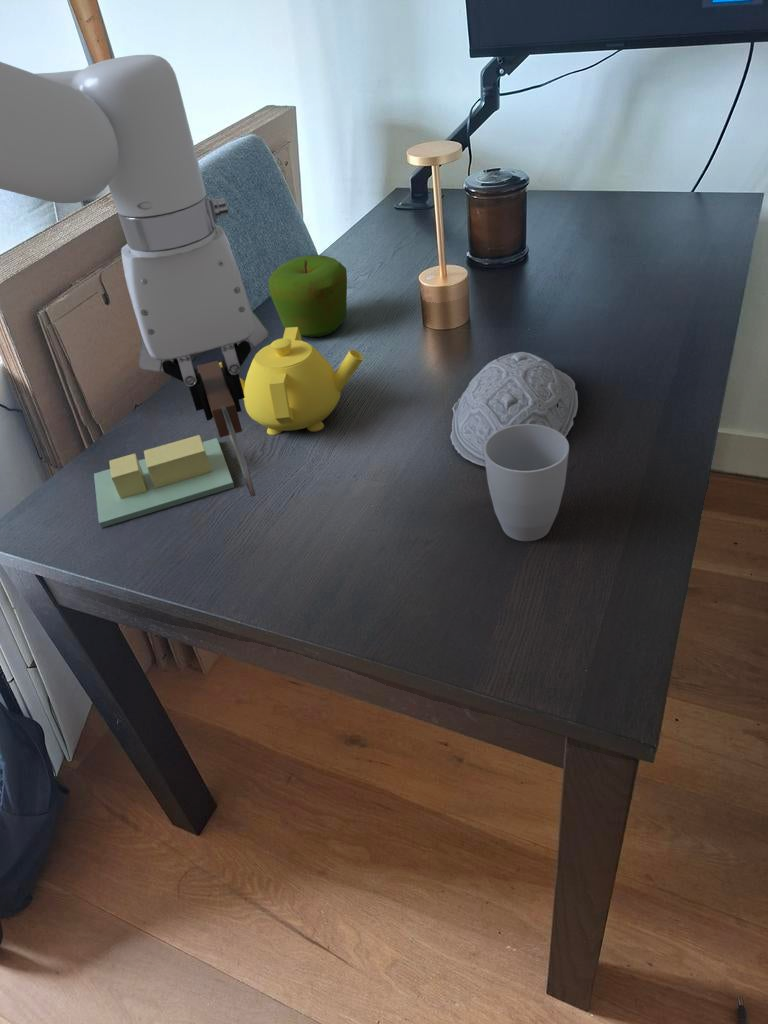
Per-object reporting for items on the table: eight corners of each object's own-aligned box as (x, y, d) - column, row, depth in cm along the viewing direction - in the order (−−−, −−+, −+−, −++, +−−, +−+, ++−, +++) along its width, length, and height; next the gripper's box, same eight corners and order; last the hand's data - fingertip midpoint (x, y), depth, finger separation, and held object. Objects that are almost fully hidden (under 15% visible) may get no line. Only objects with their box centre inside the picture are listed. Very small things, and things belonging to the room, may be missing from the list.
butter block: (155, 488, 92) (146, 467, 90) (151, 471, 95) (143, 450, 93) (211, 471, 93) (205, 450, 91) (206, 455, 96) (199, 434, 94)
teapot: (373, 377, 108) (363, 303, 101) (368, 448, 94) (355, 369, 87) (236, 390, 110) (217, 318, 103) (212, 461, 96) (187, 384, 89)
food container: (586, 363, 103) (582, 318, 98) (564, 481, 86) (559, 433, 81) (474, 369, 108) (467, 326, 104) (433, 481, 91) (422, 436, 87)
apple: (282, 316, 128) (268, 250, 121) (354, 307, 127) (344, 240, 120) (276, 351, 118) (260, 281, 111) (354, 341, 118) (343, 270, 111)
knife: (204, 391, 80) (196, 364, 78) (224, 385, 80) (217, 358, 78) (241, 502, 64) (232, 471, 62) (266, 494, 64) (258, 463, 62)
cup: (577, 513, 80) (582, 434, 74) (546, 560, 75) (548, 480, 69) (507, 494, 84) (506, 417, 78) (473, 538, 79) (469, 459, 73)
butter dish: (101, 528, 88) (98, 523, 88) (95, 478, 96) (93, 473, 96) (234, 487, 91) (233, 482, 91) (218, 442, 100) (217, 437, 99)
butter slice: (120, 499, 91) (111, 477, 89) (117, 481, 94) (109, 460, 92) (147, 491, 91) (138, 469, 89) (143, 474, 94) (135, 452, 92)
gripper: (251, 194, 69) (290, 373, 81) (72, 233, 66) (139, 413, 78) (268, 216, 63) (307, 405, 75) (74, 260, 60) (146, 450, 72)
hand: (221, 408), depth 76 cm, fingers closed on knife, 2 cm apart
